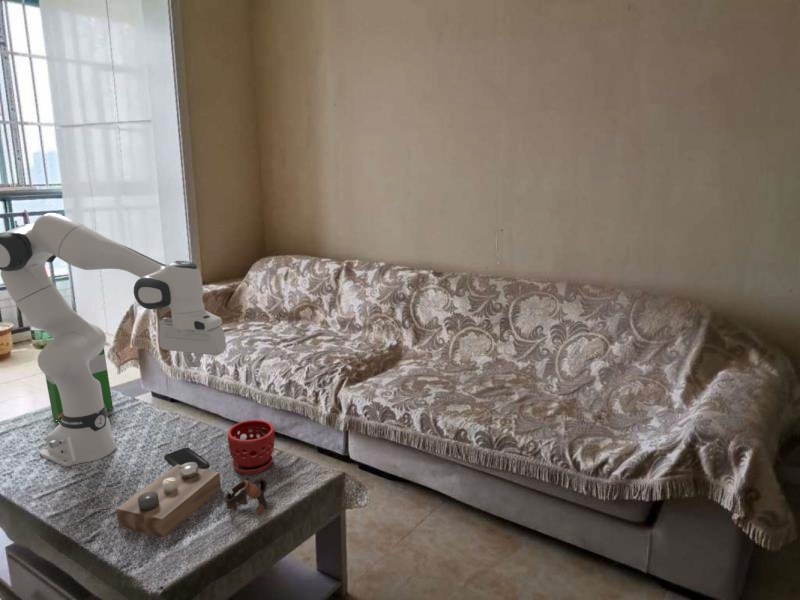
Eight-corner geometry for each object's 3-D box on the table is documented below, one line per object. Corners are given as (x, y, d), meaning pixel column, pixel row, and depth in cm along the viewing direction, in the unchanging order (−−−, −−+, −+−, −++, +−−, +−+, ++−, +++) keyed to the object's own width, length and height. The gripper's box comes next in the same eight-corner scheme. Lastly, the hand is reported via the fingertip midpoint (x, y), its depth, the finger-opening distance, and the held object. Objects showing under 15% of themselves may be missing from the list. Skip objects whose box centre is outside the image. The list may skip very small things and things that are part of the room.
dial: (160, 491, 148) (159, 482, 148) (169, 485, 151) (168, 475, 151) (171, 493, 147) (169, 484, 147) (179, 487, 150) (178, 477, 150)
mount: (118, 526, 143) (115, 508, 142) (179, 480, 163) (177, 464, 162) (164, 537, 138) (161, 519, 137) (221, 488, 158) (219, 472, 157)
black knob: (137, 525, 142) (133, 500, 141) (150, 514, 146) (147, 490, 145) (152, 528, 141) (148, 503, 139) (165, 517, 145) (162, 493, 143)
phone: (187, 446, 180) (210, 463, 170) (187, 449, 181) (210, 466, 170) (162, 455, 175) (184, 473, 165) (162, 459, 175) (185, 477, 165)
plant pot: (224, 478, 163) (220, 439, 161) (239, 454, 176) (235, 418, 173) (270, 478, 163) (266, 439, 160) (281, 455, 176) (278, 419, 173)
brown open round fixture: (256, 524, 143) (237, 500, 141) (233, 529, 148) (214, 506, 146) (282, 489, 153) (264, 466, 151) (259, 494, 158) (241, 472, 156)
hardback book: (105, 402, 216) (95, 342, 211) (113, 408, 211) (103, 346, 206) (53, 418, 204) (41, 354, 198) (60, 424, 199) (48, 359, 193)
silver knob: (178, 492, 156) (175, 469, 154) (190, 483, 160) (187, 461, 158) (192, 495, 154) (189, 472, 153) (203, 486, 159) (201, 463, 157)
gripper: (150, 319, 160) (157, 366, 163) (212, 325, 153) (217, 374, 157) (166, 313, 166) (172, 359, 169) (226, 319, 159) (231, 366, 162)
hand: (194, 366), depth 163 cm, fingers closed
